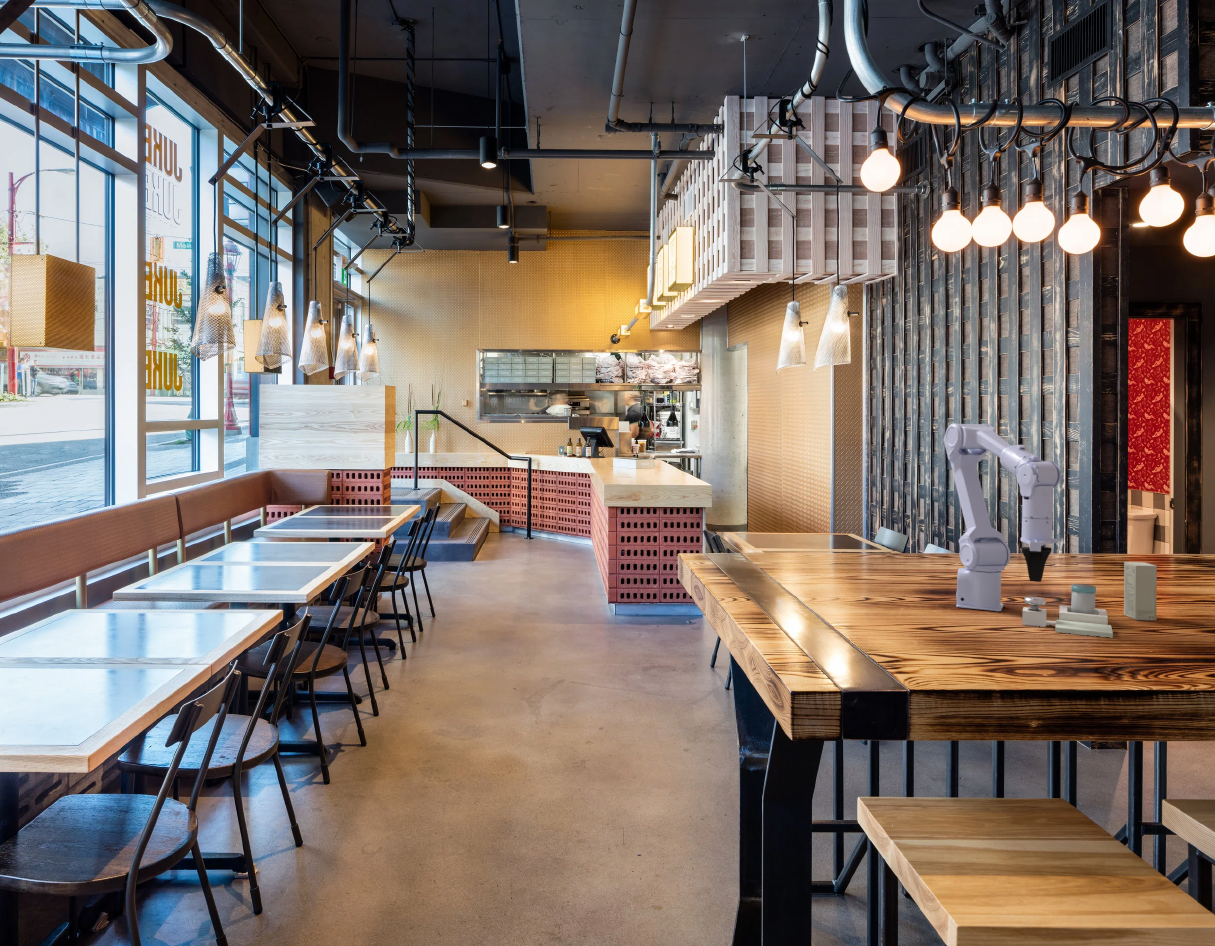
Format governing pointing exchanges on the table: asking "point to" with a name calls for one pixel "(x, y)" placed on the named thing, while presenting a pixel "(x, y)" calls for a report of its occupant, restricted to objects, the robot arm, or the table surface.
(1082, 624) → the pad
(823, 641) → the table surface
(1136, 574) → the skincare box
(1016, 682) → the table surface
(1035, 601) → the plunger
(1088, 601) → the cartridge
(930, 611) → the table surface
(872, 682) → the table surface
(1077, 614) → the holder
